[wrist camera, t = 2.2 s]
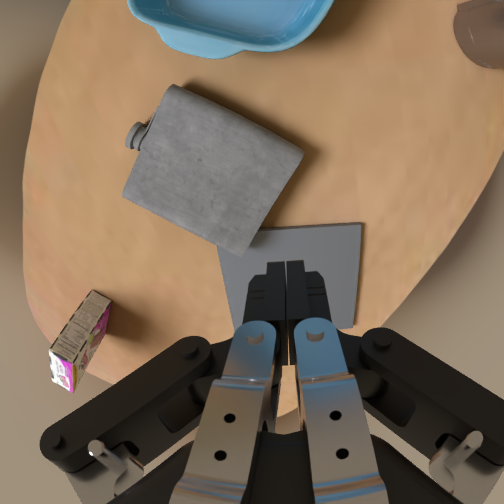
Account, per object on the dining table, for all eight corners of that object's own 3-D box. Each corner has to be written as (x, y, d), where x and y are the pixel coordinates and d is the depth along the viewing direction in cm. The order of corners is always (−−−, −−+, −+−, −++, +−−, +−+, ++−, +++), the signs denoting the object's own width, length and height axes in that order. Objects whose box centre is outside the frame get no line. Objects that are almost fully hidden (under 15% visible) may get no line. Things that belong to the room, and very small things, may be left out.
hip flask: (239, 261, 38) (104, 192, 35) (241, 247, 42) (117, 184, 38) (306, 152, 32) (151, 75, 28) (302, 148, 36) (163, 78, 32)
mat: (215, 232, 42) (214, 234, 41) (360, 222, 39) (361, 224, 38) (236, 331, 51) (235, 334, 50) (351, 324, 48) (352, 328, 48)
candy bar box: (107, 334, 56) (73, 394, 41) (87, 323, 55) (51, 381, 41) (114, 299, 50) (72, 365, 36) (91, 287, 50) (46, 349, 35)
